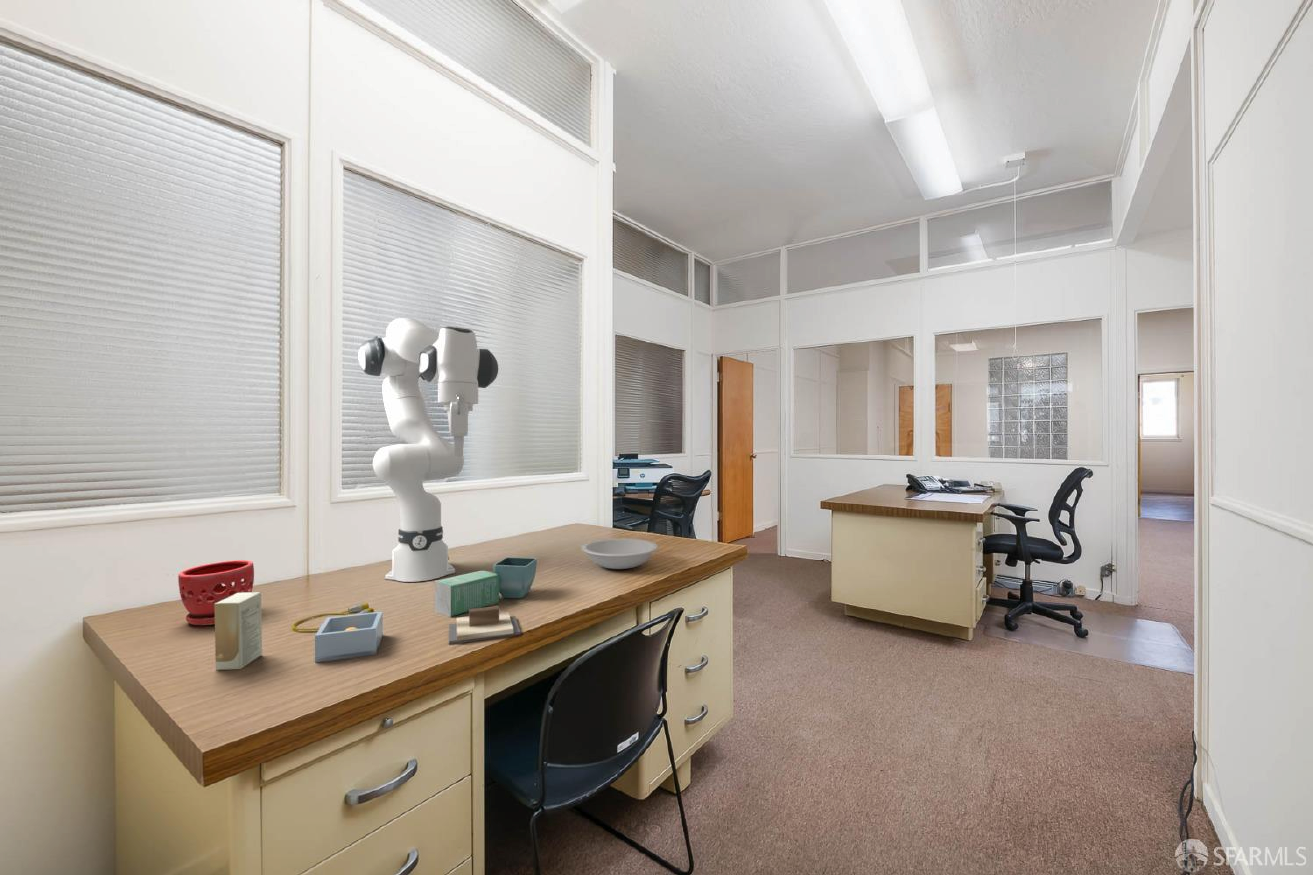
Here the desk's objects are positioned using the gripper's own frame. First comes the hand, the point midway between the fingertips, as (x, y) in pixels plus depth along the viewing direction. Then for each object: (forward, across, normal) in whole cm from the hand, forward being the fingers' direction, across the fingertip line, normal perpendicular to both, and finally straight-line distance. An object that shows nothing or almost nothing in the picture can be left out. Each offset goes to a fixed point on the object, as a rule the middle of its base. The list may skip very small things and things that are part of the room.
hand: (458, 455), depth 122 cm
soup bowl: (+37, +27, -48) cm, 66 cm away
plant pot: (+37, +16, +51) cm, 65 cm away
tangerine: (+35, -13, +20) cm, 42 cm away
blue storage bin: (+37, -13, +20) cm, 44 cm away
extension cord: (+38, +5, +26) cm, 46 cm away
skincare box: (+37, -13, +38) cm, 55 cm away
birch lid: (+36, -13, -5) cm, 39 cm away
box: (+38, +5, -2) cm, 38 cm away
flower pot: (+37, +9, -14) cm, 41 cm away
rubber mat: (+37, -13, -5) cm, 40 cm away
